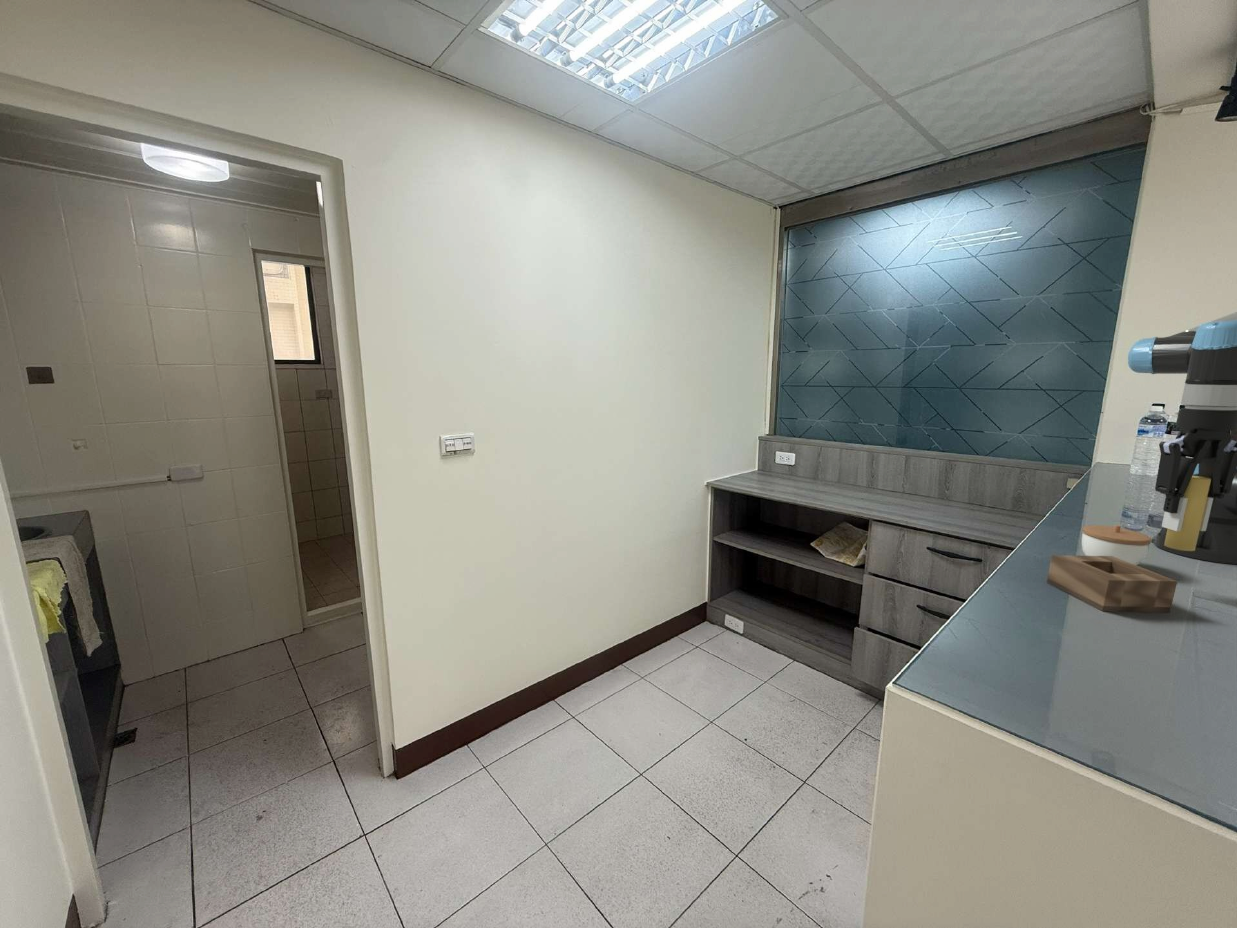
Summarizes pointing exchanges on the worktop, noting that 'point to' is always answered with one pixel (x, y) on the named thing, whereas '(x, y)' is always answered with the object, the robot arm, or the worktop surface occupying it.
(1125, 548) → the lidded jar
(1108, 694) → the worktop surface
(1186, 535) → the dowel
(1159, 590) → the socket block
